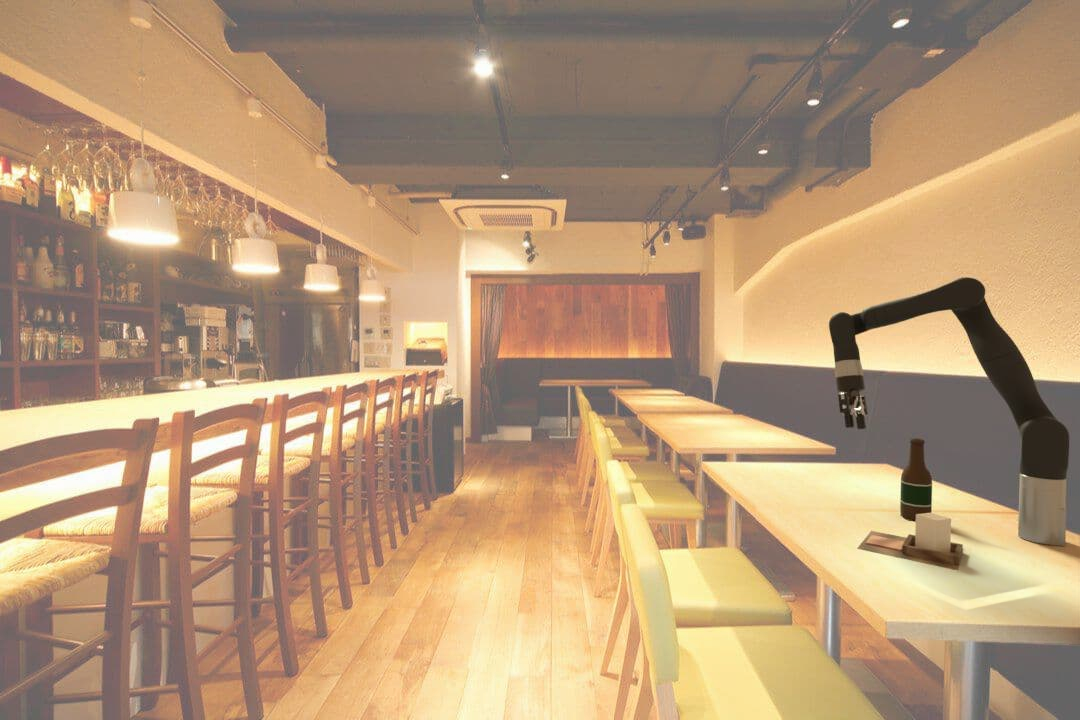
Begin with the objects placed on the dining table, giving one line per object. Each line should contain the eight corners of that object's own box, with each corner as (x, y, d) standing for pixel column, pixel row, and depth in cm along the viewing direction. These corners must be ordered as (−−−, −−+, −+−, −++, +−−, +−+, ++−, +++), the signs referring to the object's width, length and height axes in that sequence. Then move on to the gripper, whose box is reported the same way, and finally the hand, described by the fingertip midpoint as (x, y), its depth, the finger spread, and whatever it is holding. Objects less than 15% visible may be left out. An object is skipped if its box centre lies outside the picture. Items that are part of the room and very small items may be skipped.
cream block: (929, 548, 137) (930, 512, 136) (950, 555, 132) (951, 518, 132) (915, 550, 135) (915, 514, 135) (935, 557, 130) (936, 520, 130)
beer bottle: (930, 523, 160) (932, 442, 160) (899, 518, 165) (900, 439, 164) (931, 517, 166) (933, 438, 166) (901, 512, 171) (902, 436, 170)
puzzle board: (963, 553, 137) (963, 540, 136) (957, 575, 123) (958, 561, 123) (871, 535, 150) (871, 523, 150) (856, 553, 136) (857, 540, 136)
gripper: (852, 371, 163) (859, 426, 160) (871, 376, 172) (878, 428, 169) (826, 375, 169) (833, 428, 166) (846, 379, 178) (852, 430, 174)
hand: (856, 428), depth 167 cm, fingers open, 8 cm apart
